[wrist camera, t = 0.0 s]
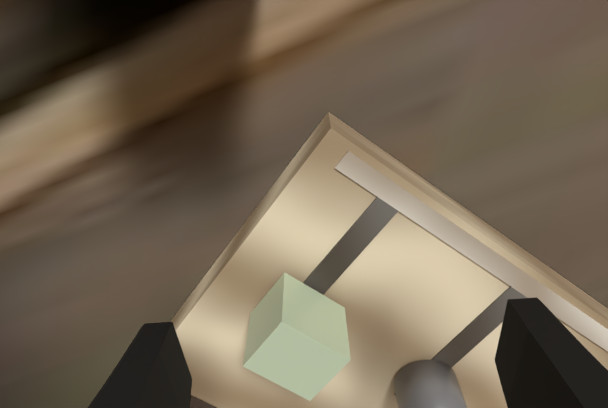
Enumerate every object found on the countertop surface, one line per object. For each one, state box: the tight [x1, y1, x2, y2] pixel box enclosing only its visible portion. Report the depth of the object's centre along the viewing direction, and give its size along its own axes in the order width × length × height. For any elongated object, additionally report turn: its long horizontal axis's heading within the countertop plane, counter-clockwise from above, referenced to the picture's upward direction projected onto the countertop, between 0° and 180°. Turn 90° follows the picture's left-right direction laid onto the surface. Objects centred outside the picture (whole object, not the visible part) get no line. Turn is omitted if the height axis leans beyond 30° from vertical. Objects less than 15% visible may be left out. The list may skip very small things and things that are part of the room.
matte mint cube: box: [243, 272, 351, 401], centre depth 20 cm, size 2×3×3 cm
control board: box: [170, 112, 608, 408], centre depth 24 cm, size 14×21×2 cm, turn 55°
